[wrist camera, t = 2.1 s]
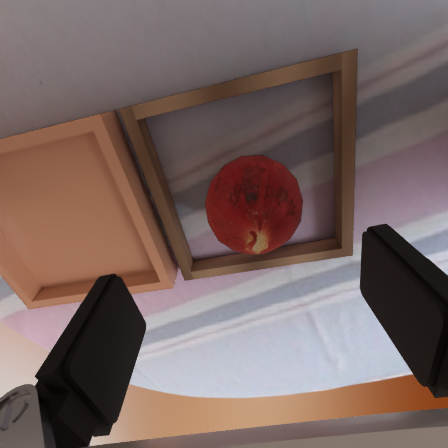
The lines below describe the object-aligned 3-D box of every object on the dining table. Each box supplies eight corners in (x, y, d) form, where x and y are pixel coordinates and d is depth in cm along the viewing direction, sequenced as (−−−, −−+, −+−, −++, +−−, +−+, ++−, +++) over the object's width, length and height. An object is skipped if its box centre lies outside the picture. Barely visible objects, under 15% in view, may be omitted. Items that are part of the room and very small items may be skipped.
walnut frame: (346, 51, 15) (357, 48, 14) (345, 244, 21) (352, 255, 20) (127, 106, 17) (118, 108, 15) (187, 269, 23) (184, 280, 22)
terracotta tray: (115, 109, 17) (99, 113, 15) (177, 270, 23) (172, 287, 21) (-59, 153, 19) (-92, 162, 17) (44, 291, 25) (28, 309, 23)
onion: (206, 146, 18) (188, 189, 11) (291, 140, 17) (330, 181, 10) (214, 220, 21) (204, 293, 14) (287, 216, 20) (316, 289, 13)
